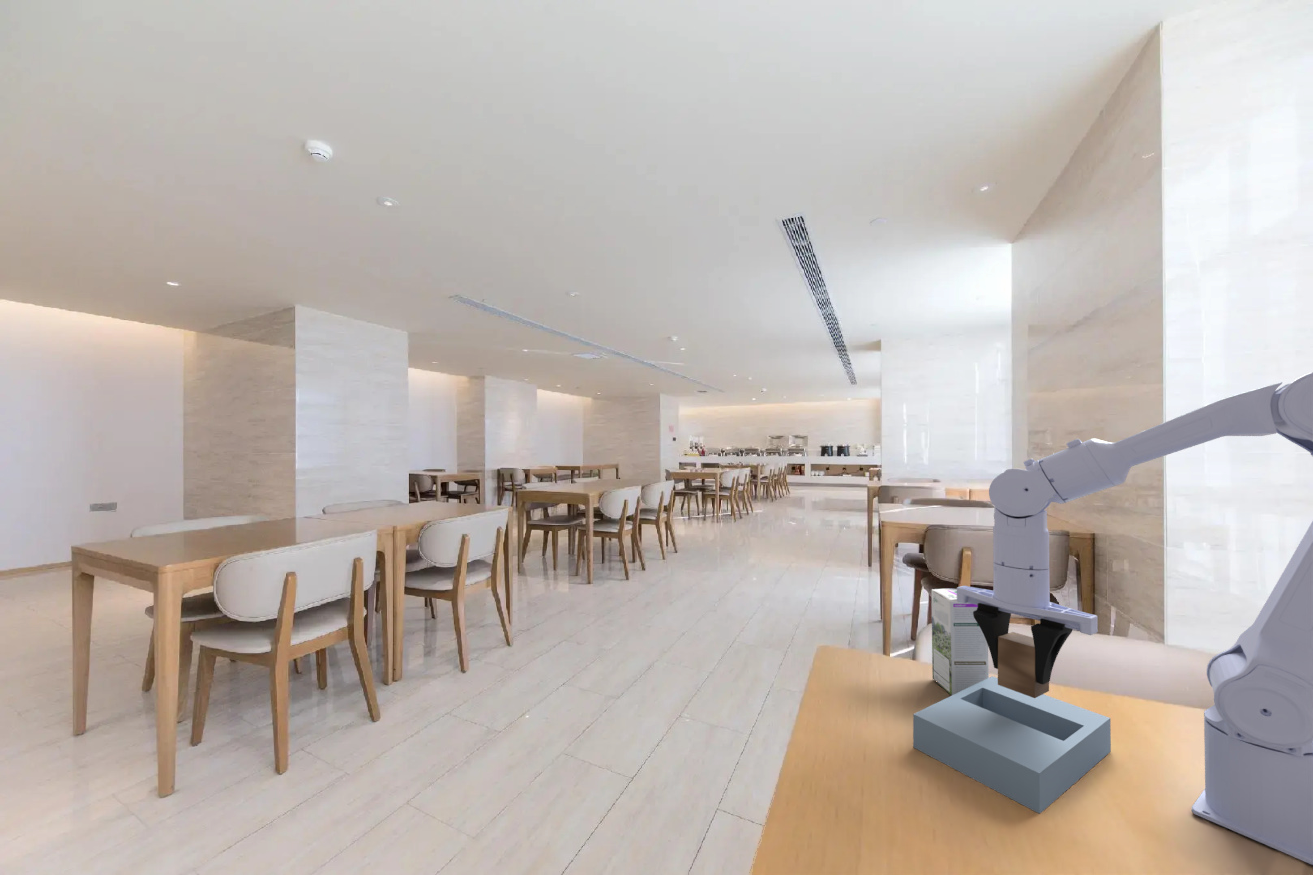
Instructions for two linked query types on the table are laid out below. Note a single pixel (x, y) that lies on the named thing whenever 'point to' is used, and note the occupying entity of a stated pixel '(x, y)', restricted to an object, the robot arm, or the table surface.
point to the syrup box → (956, 643)
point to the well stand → (1013, 740)
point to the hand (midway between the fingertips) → (1021, 674)
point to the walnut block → (1018, 665)
